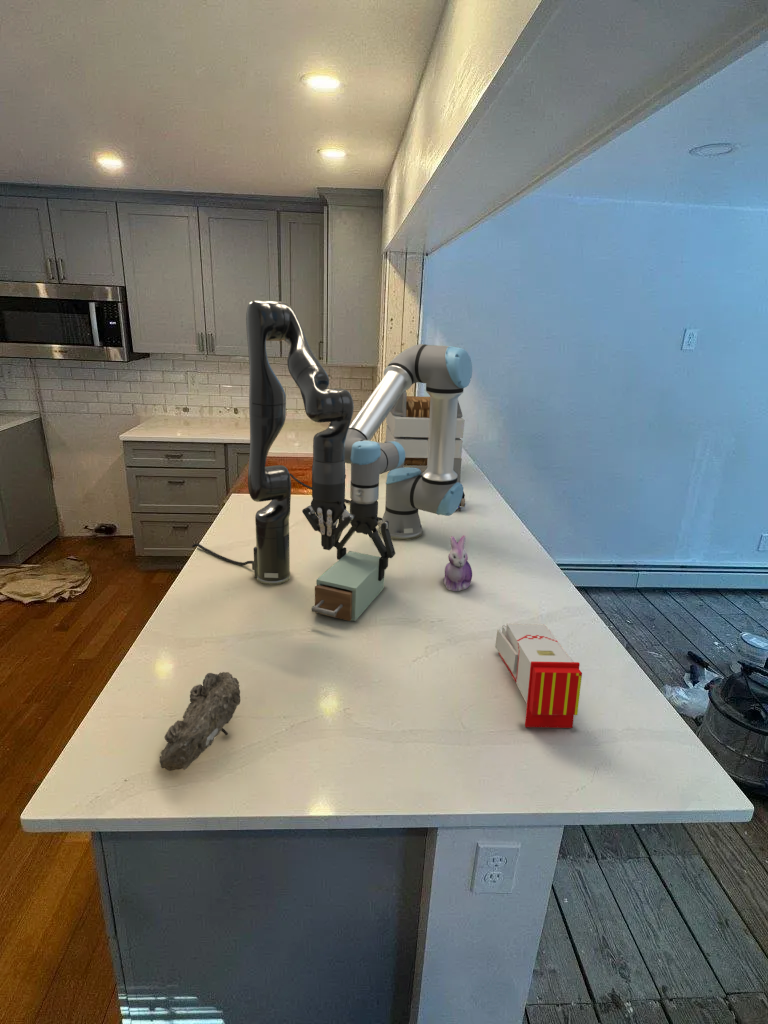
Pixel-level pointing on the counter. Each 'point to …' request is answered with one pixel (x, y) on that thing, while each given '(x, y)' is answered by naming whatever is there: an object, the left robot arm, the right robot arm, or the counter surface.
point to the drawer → (333, 602)
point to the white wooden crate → (418, 430)
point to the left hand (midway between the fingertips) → (328, 548)
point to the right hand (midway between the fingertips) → (361, 574)
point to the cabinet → (355, 579)
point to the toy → (541, 674)
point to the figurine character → (462, 502)
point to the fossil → (201, 720)
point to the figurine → (457, 567)
